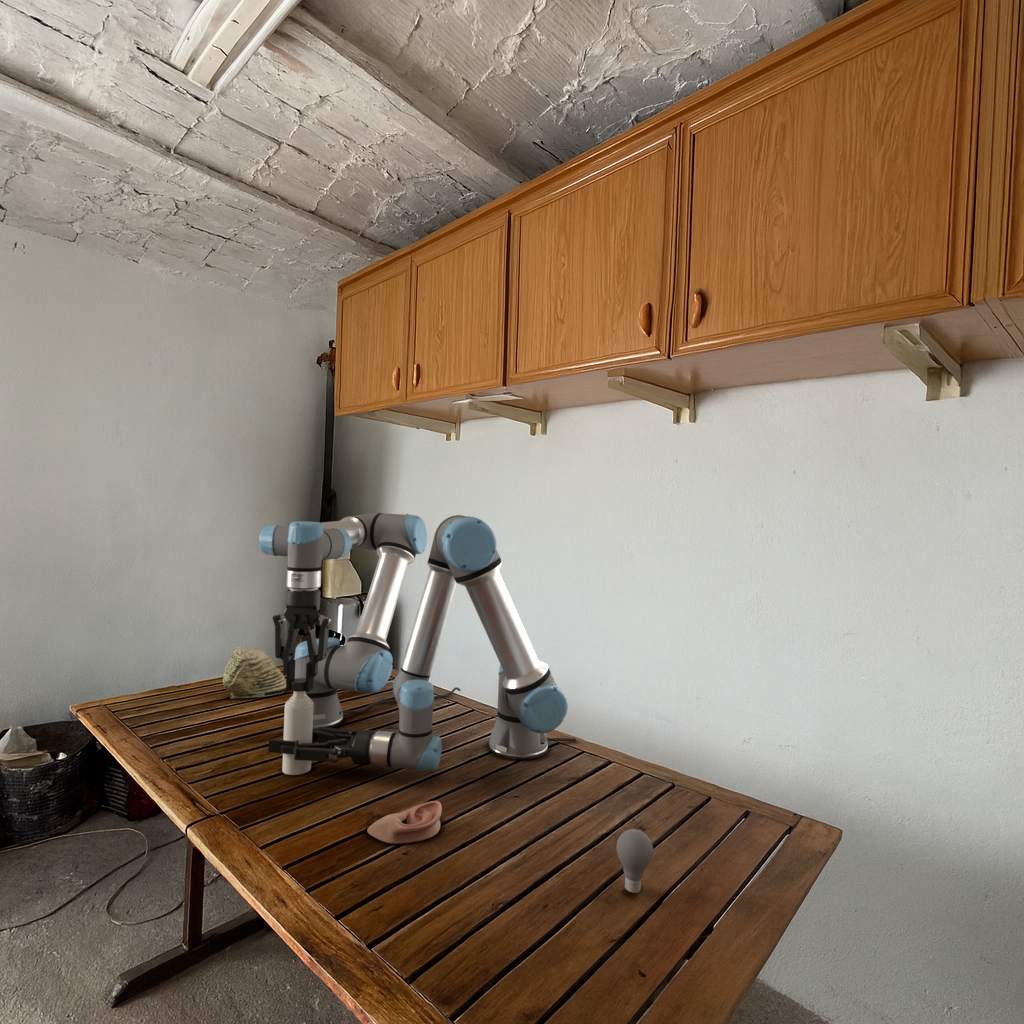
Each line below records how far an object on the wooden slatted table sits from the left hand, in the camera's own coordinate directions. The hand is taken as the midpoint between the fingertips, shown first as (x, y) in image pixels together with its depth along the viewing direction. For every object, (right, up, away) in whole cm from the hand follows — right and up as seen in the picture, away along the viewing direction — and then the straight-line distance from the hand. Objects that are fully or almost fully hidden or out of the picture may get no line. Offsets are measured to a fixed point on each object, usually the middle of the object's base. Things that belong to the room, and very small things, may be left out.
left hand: (299, 689), depth 146 cm
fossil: (-32, -16, +52) cm, 63 cm away
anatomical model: (+28, -20, -24) cm, 42 cm away
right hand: (-6, -12, +1) cm, 13 cm away
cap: (0, +2, 0) cm, 2 cm away
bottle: (-1, -19, 0) cm, 19 cm away
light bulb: (+69, -22, -41) cm, 83 cm away
